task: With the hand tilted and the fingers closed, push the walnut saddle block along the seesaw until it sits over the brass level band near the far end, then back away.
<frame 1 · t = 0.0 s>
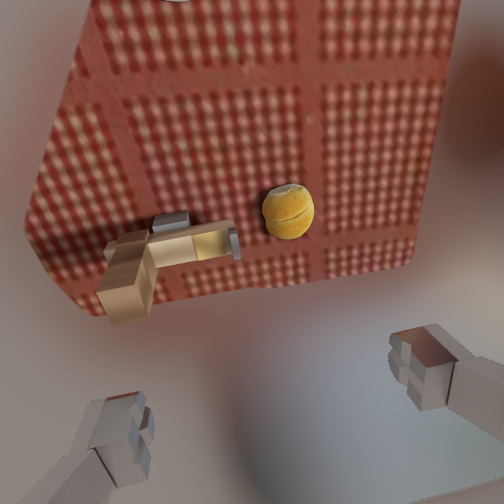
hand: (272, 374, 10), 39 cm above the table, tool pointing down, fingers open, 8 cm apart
seesaw: (176, 230, 49), on the table
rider: (133, 274, 39), point 11 cm above the table, slide at 0.0 cm
bread roll: (285, 208, 50), on the table
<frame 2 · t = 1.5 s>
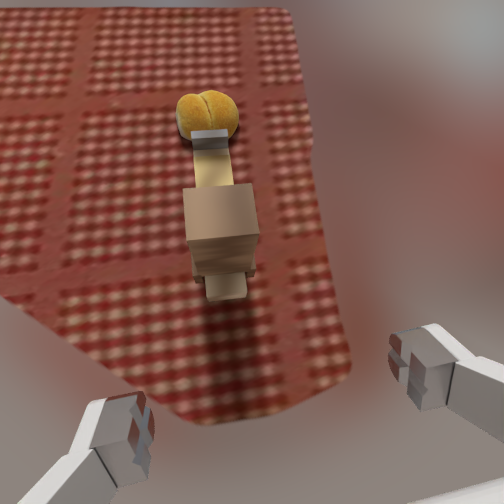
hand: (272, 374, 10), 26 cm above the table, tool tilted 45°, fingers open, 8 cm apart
seesaw: (219, 235, 39), on the table
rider: (222, 242, 28), point 11 cm above the table, slide at 0.0 cm
bread roll: (206, 124, 45), on the table
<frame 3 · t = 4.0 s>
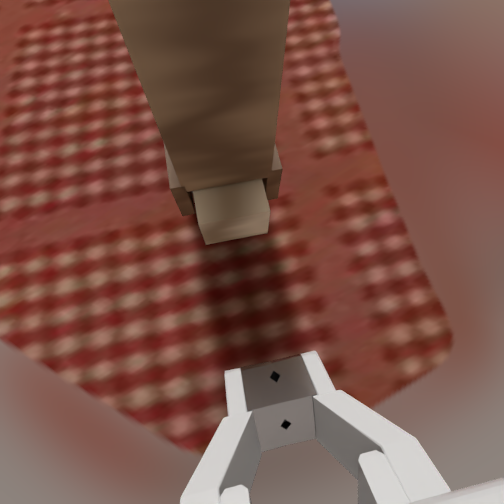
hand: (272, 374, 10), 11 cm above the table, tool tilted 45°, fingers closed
seesaw: (219, 162, 26), on the table
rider: (214, 105, 14), point 11 cm above the table, slide at 0.0 cm
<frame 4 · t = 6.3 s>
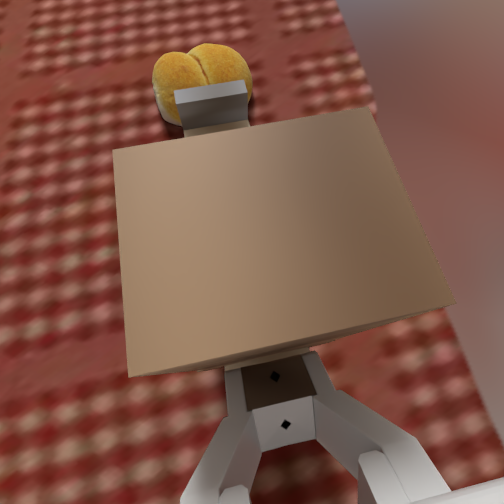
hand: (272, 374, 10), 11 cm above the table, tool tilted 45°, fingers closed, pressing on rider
seesaw: (244, 278, 23), on the table
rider: (259, 296, 11), point 11 cm above the table, slide at 1.3 cm, touching gripper
bread roll: (203, 100, 29), on the table
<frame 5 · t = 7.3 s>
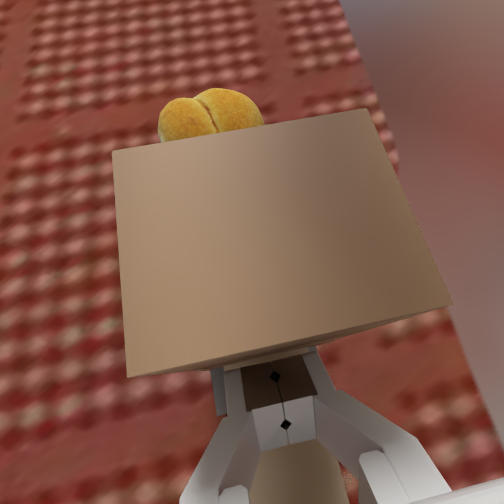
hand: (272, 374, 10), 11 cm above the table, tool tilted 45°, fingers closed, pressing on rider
seesaw: (260, 355, 21), on the table
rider: (258, 296, 11), point 11 cm above the table, slide at 6.8 cm, touching gripper
bread roll: (211, 146, 27), on the table
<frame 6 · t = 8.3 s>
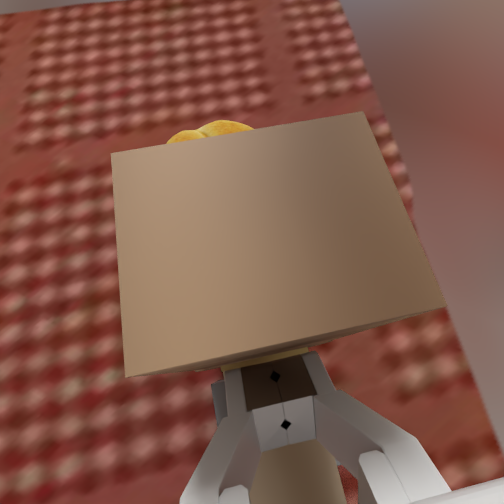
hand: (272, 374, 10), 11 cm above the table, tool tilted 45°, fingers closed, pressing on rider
seesaw: (270, 411, 20), on the table
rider: (256, 297, 11), point 11 cm above the table, slide at 10.3 cm, touching gripper
bread roll: (217, 179, 26), on the table
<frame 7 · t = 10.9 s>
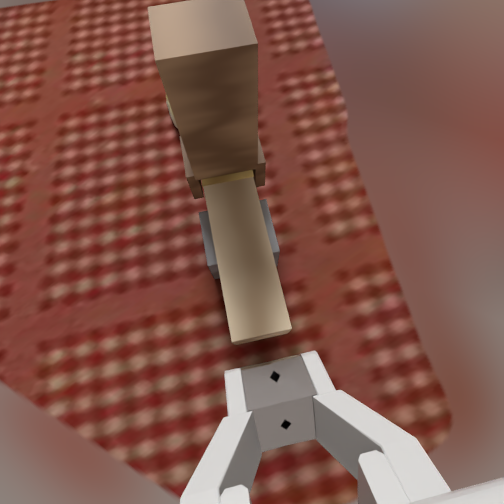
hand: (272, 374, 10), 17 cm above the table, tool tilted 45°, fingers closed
seesaw: (240, 248, 30), on the table
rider: (216, 119, 21), point 11 cm above the table, slide at 10.5 cm
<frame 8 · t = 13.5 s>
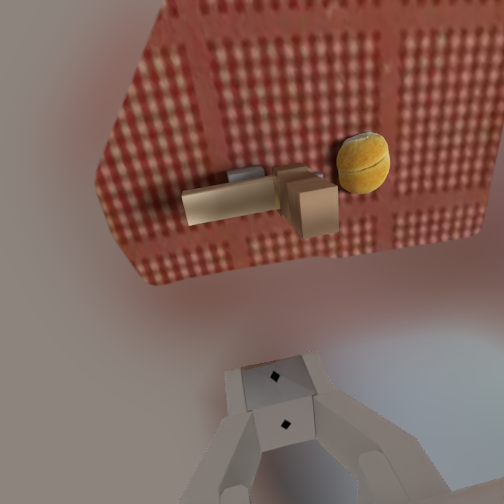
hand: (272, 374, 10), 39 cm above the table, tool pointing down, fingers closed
seesaw: (245, 187, 47), on the table
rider: (301, 198, 37), point 11 cm above the table, slide at 10.5 cm
bread roll: (358, 162, 48), on the table
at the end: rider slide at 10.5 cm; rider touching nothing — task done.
